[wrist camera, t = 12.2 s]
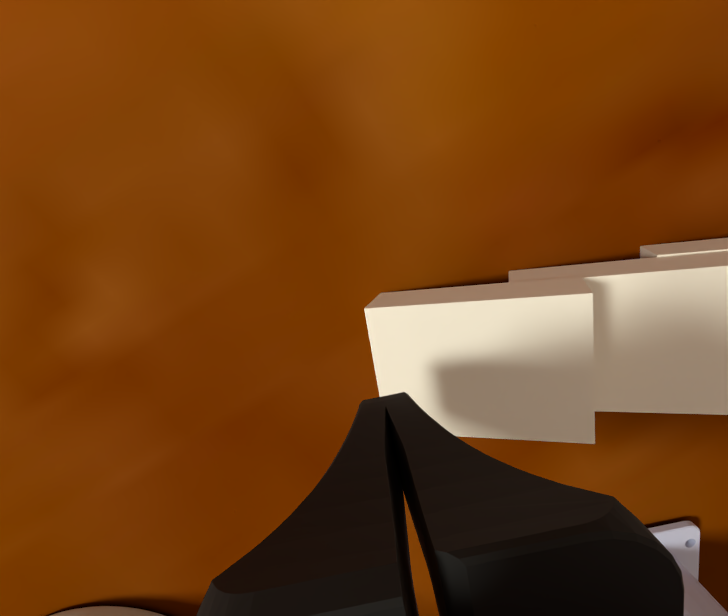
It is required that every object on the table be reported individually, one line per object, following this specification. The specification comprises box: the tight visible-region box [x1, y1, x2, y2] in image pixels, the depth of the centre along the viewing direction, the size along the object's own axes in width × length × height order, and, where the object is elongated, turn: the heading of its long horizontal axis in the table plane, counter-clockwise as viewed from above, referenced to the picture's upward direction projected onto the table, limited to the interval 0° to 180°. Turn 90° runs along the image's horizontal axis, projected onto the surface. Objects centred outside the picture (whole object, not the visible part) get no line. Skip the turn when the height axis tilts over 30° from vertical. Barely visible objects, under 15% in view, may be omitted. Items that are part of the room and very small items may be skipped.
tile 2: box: [509, 250, 728, 415], centre depth 14 cm, size 5×2×7 cm
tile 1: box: [364, 277, 595, 444], centre depth 14 cm, size 5×2×7 cm
